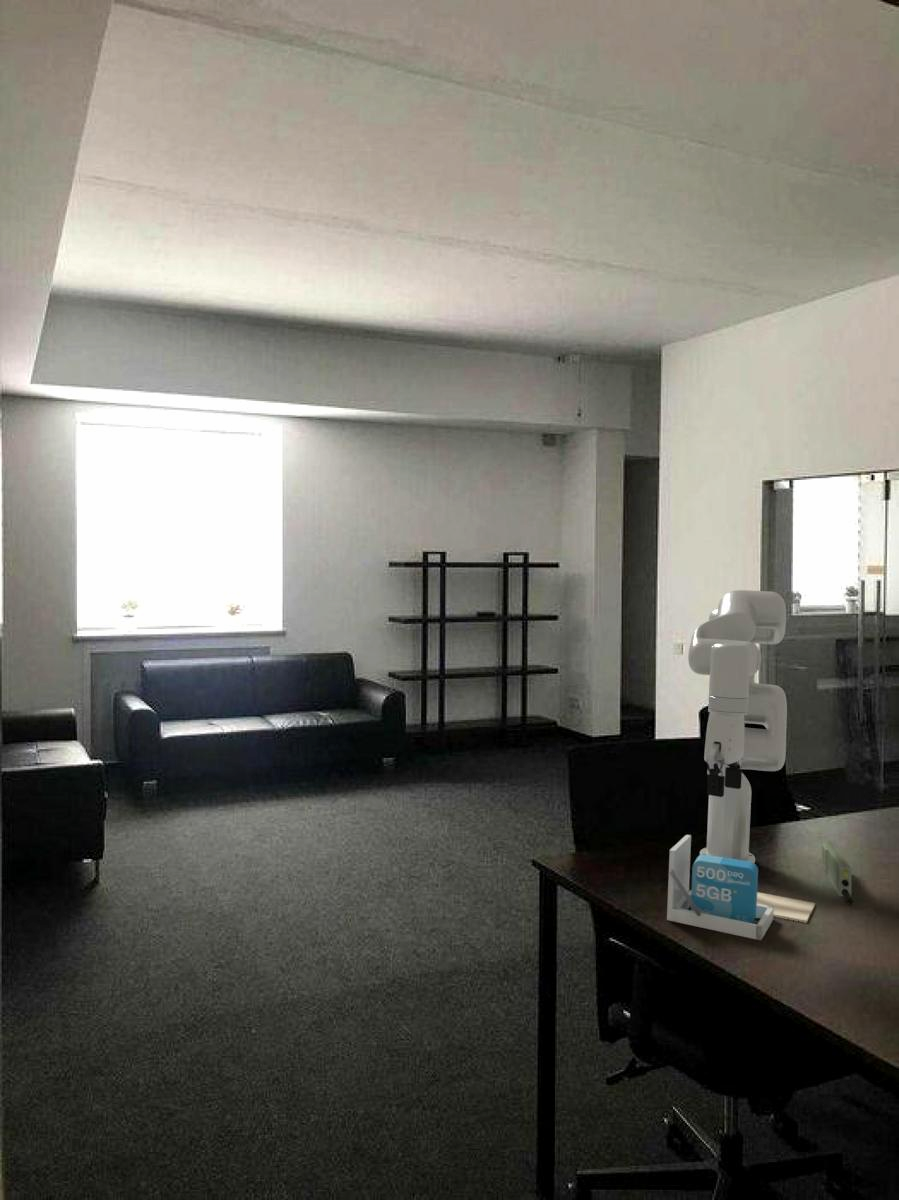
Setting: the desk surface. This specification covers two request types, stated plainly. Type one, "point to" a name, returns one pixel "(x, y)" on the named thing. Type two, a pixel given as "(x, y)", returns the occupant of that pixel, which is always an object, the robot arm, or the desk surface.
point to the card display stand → (682, 901)
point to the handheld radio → (837, 869)
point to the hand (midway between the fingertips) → (724, 791)
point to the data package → (725, 887)
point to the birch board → (787, 907)
